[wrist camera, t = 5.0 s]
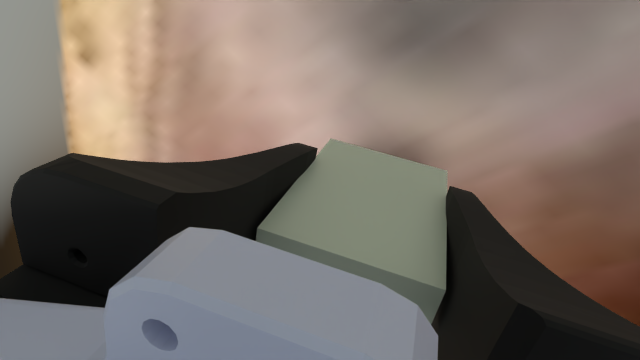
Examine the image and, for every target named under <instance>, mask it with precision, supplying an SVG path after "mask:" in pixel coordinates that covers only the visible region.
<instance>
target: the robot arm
mask: <svg viewBox="0 0 640 360" xmlns="http://www.w3.org/2000/svg"><path fill="white" fill-rule="evenodd" d="M316 153H317V148H314V147H311V146H307V145H304V144H300V143H294V144H289V145H285V146H281V147H277V148H273V149H269V150H265V151H261V152H257V153H253V154H248V155H243V156H238V157H233V158H228V159H221V160H213V161H203V162H174V163H159V162H140V161H127V160H117V159H110V158H103V157H96V156H88V155H82V154H76V153H71V154H68V155H66V156H63V157H61V158H58V159H56V160H54V161H51V162H49V163H46V164H44V165H42V166H39V167H37V168H34V169H32V170H30V171H28V172H27V173H25V174H23V175H21V176H20V178H19V179H18V181H17V182H16V183H15V185H14V187H13V192H12V198H11V208H12V217H13V221H14V226H15V230H16V235H17V239H18V244H19V248H20V252H21V257H22V262H23V265H21V266H20V267H18V268H17V269H15V270H14V271H12V272H10V273H9V274H7V275H6V276H4V277H3V278H1V279H0V360H640V327H639V326H637V325H635V324H633V323H631V322H630V321H628V320H626V319H624V318H623V317H621V316H619V315H617V314H616V313H614V312H612V311H610V310H609V309H607V308H605V307H603V306H602V305H600V304H599V303H597V302H595V301H594V300H592V299H590V298H589V297H587V296H586V295H584V294H583V293H581V292H580V291H578V290H577V289H575V288H574V287H572V286H571V285H569V284H568V283H567V282H565V281H564V280H562V279H561V278H559V277H558V276H557V275H555V274H554V273H553V272H551V271H550V270H549V269H548V268H546V267H545V266H544V265H543V264H542V263H540V262H539V261H538V260H537V259H535V258H534V257H533V256H532V255H531V254H530V253H528V252H527V251H526V250H525V249H524V248H523V247H522V246H521V245H520V244H519V243H518V242H517V241H516V240H515V239H514V238H513V237H512V236H511V235H510V234H509V233H508V232H507V231H506V230H505V229H504V228H503V227H502V226H501V225H500V223H499V222H498V221H497V220H496V219H495V218H494V217H493V215H492V214H491V213H490V212H489V211H488V210H487V208H486V207H485V206H484V205H483V204H482V203H481V201H480V200H479V199H478V198H477V197H476V196H475V195H474V194H473V193H472V192H469V191H466V190H462V189H459V188H455V187H451V186H450V187H449V190H448V193H447V195H446V220H447V249H446V292H445V294H444V296H443V298H442V301H441V303H440V305H439V308H438V310H437V312H436V315H435V317H434V319H433V322H432V324H430V323H429V321H428V320H427V318H426V317H425V315H424V314H423V312H422V311H421V309H420V307H419V306H418V305H417V304H415V303H413V302H412V301H410V300H408V299H407V298H405V297H403V296H401V295H400V294H398V293H396V292H395V291H393V290H391V289H389V288H388V287H386V286H384V285H383V284H381V283H378V282H375V281H372V280H369V279H366V278H363V277H360V276H357V275H354V274H351V273H348V272H345V271H342V270H339V269H336V268H333V267H330V266H327V265H324V264H321V263H319V262H316V261H313V260H310V259H307V258H304V257H301V256H298V255H295V254H292V253H289V252H286V251H283V250H280V249H277V248H274V247H271V246H268V245H265V244H262V243H259V242H256V234H257V228H258V226H259V225H260V224H261V223H262V222H263V220H264V219H265V218H266V217H267V216H268V214H269V213H270V212H271V211H272V209H273V208H274V207H275V206H276V205H277V203H278V202H279V201H280V200H281V199H282V197H283V196H284V195H285V194H286V192H287V191H288V190H289V189H290V188H291V186H292V185H293V184H294V183H295V182H296V180H297V179H298V178H299V177H300V176H301V175H302V174H303V173H304V172H305V171H306V170H307V169H308V168H309V166H310V165H311V164H312V163H313V161H314V160H315V159H316Z"/></svg>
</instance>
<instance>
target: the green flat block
mask: <svg viewBox="0 0 640 360" xmlns="http://www.w3.org/2000/svg"><path fill="white" fill-rule="evenodd" d="M446 195H447V171H446V170H443V169H439V168H436V167H432V166H428V165H425V164H421V163H417V162H414V161H410V160H407V159H403V158H399V157H396V156H392V155H389V154H385V153H381V152H378V151H374V150H371V149H367V148H363V147H360V146H356V145H353V144H349V143H345V142H342V141H338V140H335V139H330V140H329V142H328V143H327V144H326V145H325V146H324V148H323V149H322V150H321V151H320V152H319V154H318V155H317V156H316V159H315V160H314V161H313V163H312V164H311V165H310V166H309V168H308V169H307V170H306V171H305V172H304V173H303V174H302V175H301V176H300V177H299V178H298V179H297V180H296V182H295V183H294V184H293V185H292V186H291V188H290V189H289V190H288V191H287V192H286V194H285V195H284V196H283V197H282V199H281V200H280V201H279V202H278V203H277V205H276V206H275V207H274V208H273V209H272V211H271V212H270V213H269V214H268V216H267V217H266V218H265V219H264V220H263V222H262V223H261V224H260V225H259V226H258V228H257V234H256V242H259V243H262V244H265V245H268V246H271V247H274V248H277V249H280V250H283V251H286V252H289V253H292V254H295V255H298V256H301V257H304V258H307V259H310V260H313V261H316V262H319V263H321V264H324V265H327V266H330V267H333V268H336V269H339V270H342V271H345V272H348V273H351V274H354V275H357V276H360V277H363V278H366V279H369V280H372V281H375V282H378V283H381V284H383V285H384V286H386V287H388V288H389V289H391V290H393V291H395V292H396V293H398V294H400V295H401V296H403V297H405V298H407V299H408V300H410V301H412V302H413V303H415V304H417V305H418V306H419V307H420V309H421V311H422V312H423V314H424V315H425V317H426V318H427V320H428V321H429V323H430V324H432V322H433V319H434V317H435V315H436V312H437V310H438V308H439V305H440V303H441V301H442V298H443V296H444V294H445V292H446V249H447V220H446Z"/></svg>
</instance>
